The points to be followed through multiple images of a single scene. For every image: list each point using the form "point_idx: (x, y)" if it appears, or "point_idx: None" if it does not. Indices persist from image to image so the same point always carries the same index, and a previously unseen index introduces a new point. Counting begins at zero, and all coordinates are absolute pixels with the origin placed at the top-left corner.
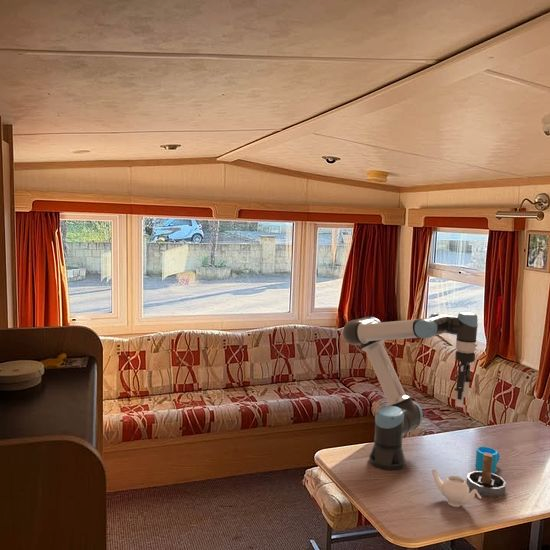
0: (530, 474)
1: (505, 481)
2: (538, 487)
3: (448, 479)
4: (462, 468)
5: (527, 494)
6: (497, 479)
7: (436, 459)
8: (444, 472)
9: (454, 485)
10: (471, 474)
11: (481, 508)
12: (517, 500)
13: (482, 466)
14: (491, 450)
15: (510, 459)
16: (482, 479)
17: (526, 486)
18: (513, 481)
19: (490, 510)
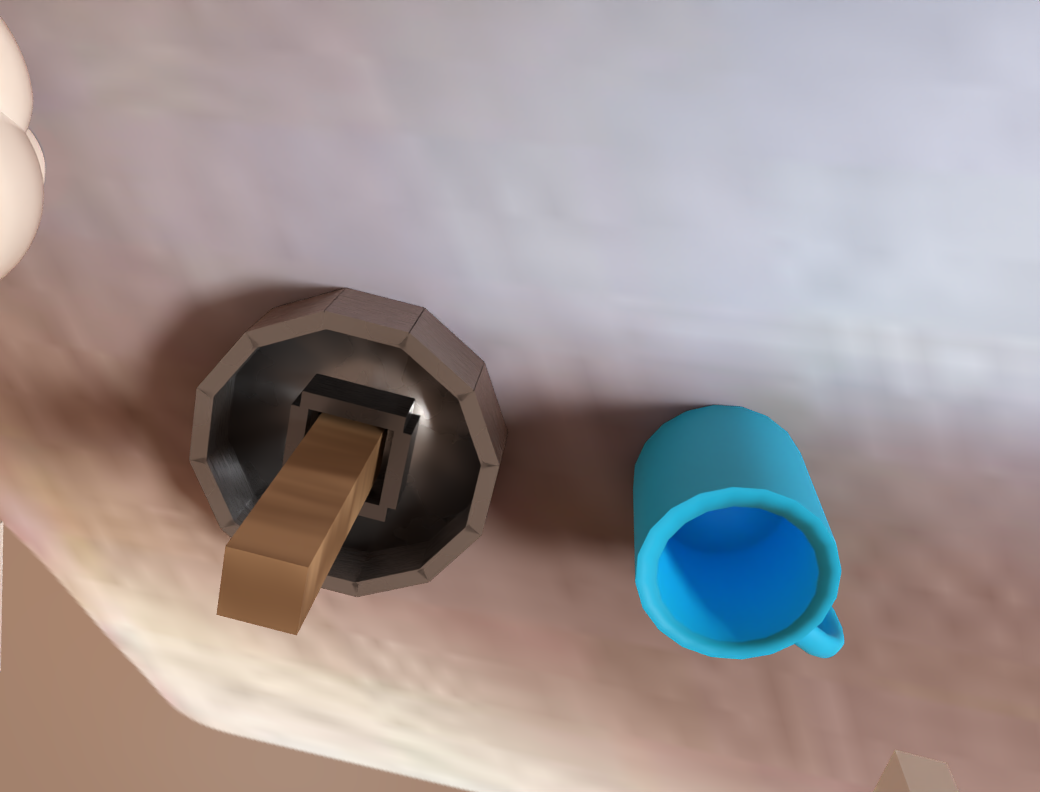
0: (705, 768)
1: (364, 595)
2: (507, 765)
3: None
4: (676, 290)
5: (374, 680)
6: (436, 543)
7: (830, 43)
8: (539, 112)
9: None
10: (414, 355)
11: (27, 354)
12: None
13: (645, 469)
14: (787, 615)
15: (961, 699)
16: (308, 433)
17: (495, 700)
18: (548, 638)
19: (30, 410)
